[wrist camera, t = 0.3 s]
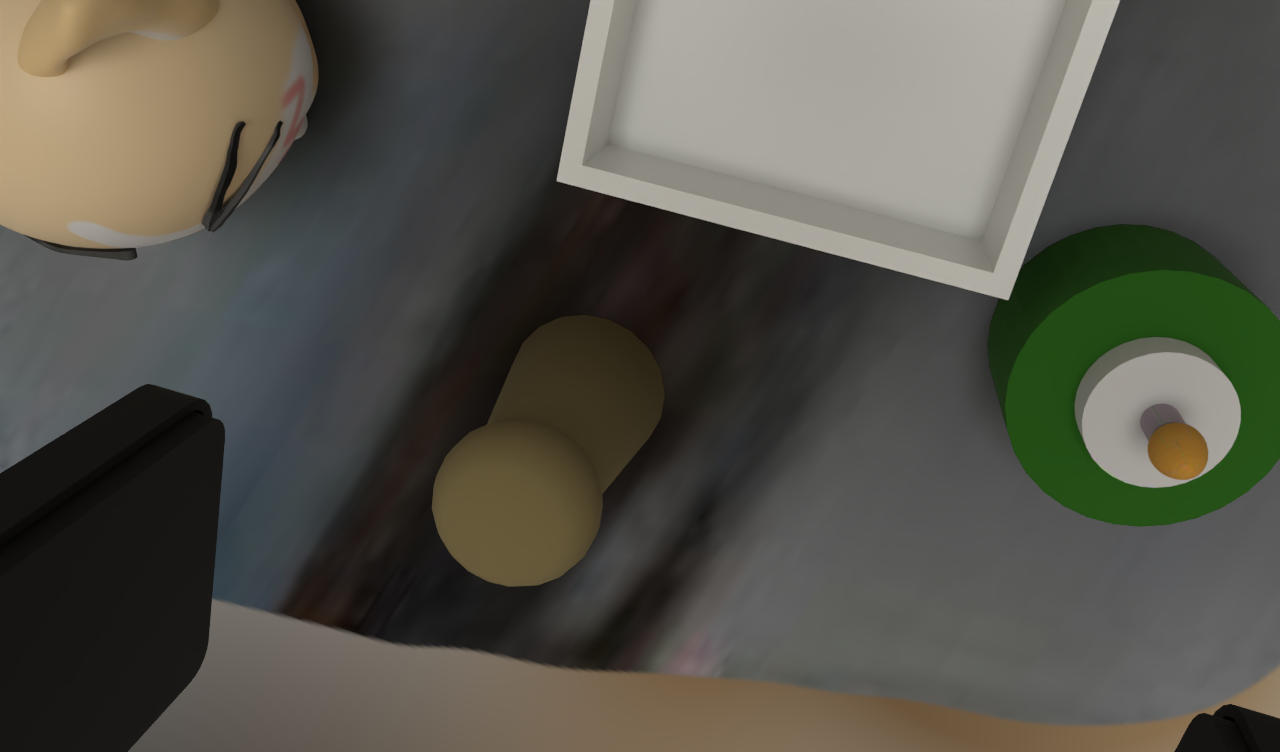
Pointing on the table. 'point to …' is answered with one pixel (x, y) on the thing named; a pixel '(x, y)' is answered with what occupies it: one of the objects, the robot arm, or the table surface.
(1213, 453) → the candle
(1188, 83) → the table surface
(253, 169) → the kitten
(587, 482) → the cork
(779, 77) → the large crate
